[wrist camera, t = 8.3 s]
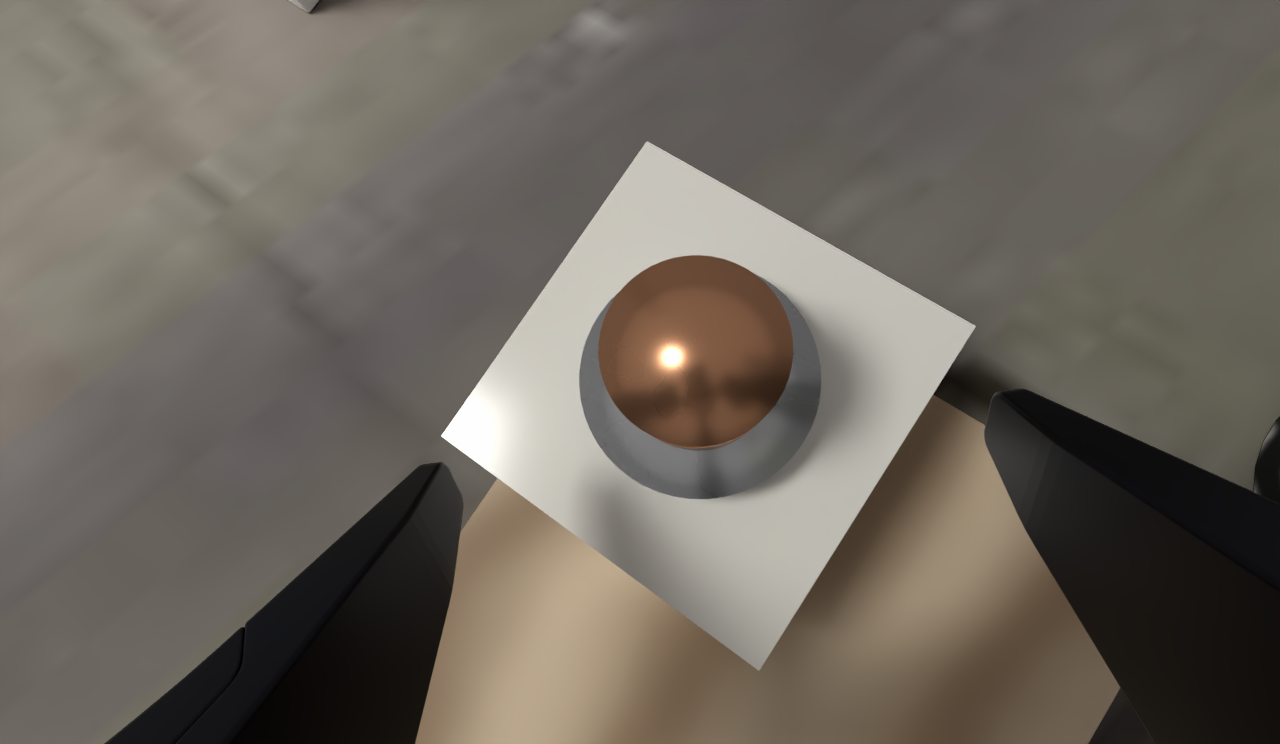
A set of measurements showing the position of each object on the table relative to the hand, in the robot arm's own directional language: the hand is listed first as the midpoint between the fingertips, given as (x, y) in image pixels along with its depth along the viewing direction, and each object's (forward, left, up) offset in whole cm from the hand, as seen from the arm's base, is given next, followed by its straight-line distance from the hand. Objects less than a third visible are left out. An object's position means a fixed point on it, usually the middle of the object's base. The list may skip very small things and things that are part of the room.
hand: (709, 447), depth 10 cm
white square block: (+1, -1, -10) cm, 10 cm away
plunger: (+1, -1, -9) cm, 9 cm away
